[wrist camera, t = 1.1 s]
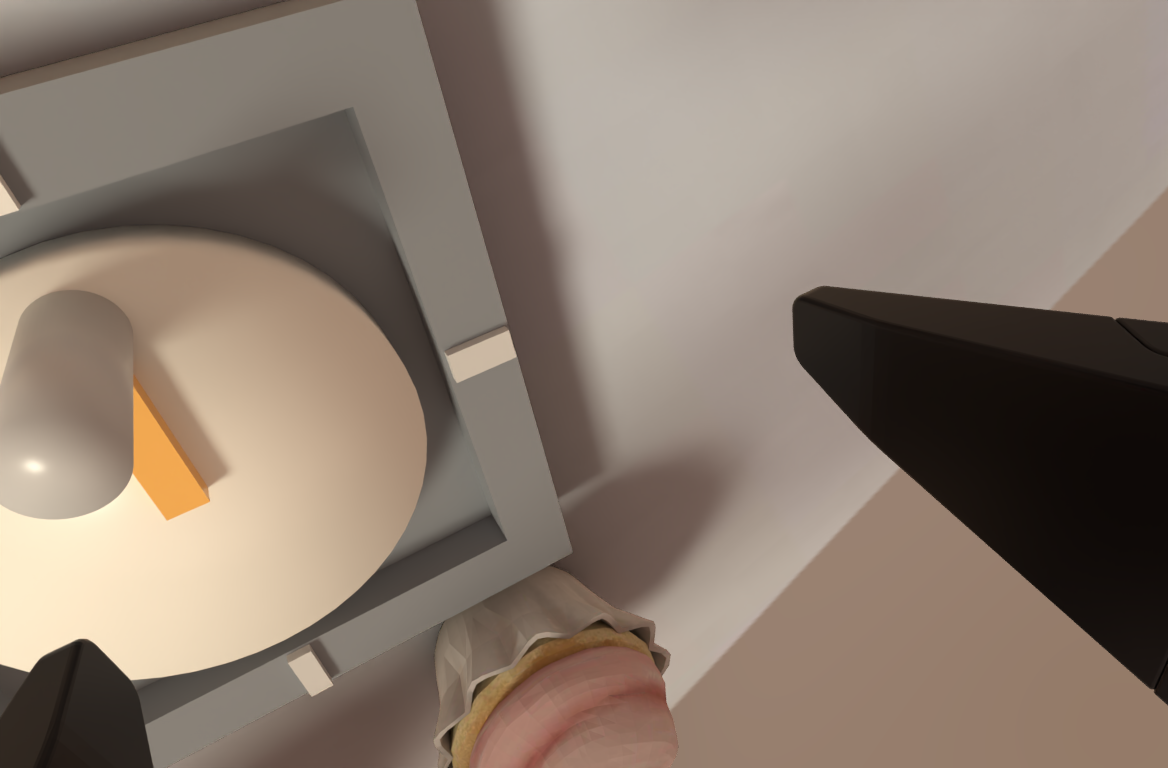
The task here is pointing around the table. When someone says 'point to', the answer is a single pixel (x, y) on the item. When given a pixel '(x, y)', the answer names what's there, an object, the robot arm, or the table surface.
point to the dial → (190, 447)
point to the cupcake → (551, 682)
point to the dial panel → (332, 245)
